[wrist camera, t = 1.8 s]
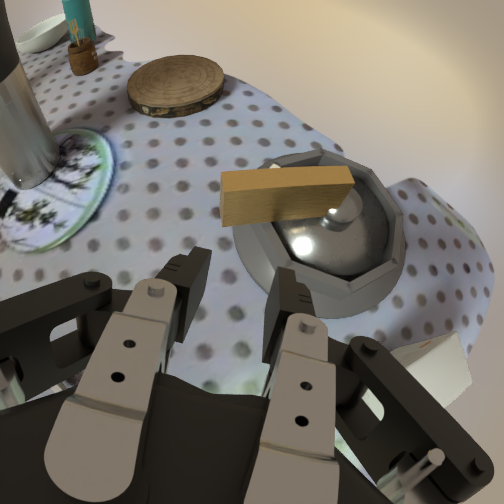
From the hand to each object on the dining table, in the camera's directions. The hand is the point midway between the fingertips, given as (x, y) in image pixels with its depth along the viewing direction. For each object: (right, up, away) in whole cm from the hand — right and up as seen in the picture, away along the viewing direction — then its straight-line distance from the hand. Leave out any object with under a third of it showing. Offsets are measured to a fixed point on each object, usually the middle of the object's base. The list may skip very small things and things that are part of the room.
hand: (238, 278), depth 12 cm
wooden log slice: (-12, +28, +31) cm, 43 cm away
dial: (+7, +4, +21) cm, 22 cm away
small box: (+14, -13, +16) cm, 25 cm away
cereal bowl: (-57, +59, +38) cm, 91 cm away
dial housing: (+9, +4, +22) cm, 24 cm away
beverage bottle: (-40, +51, +37) cm, 74 cm away
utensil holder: (-34, +39, +32) cm, 61 cm away
